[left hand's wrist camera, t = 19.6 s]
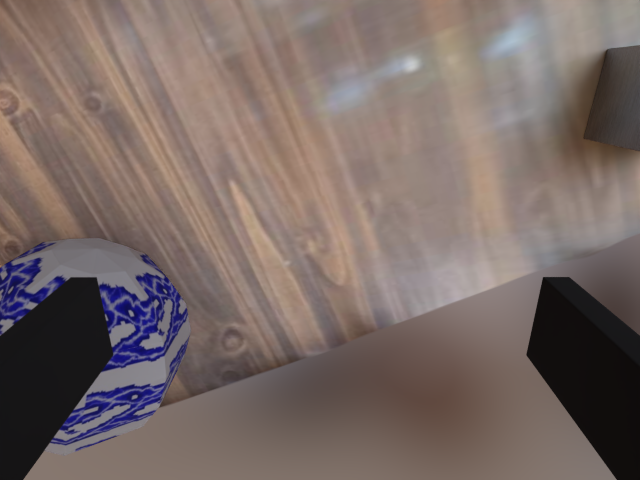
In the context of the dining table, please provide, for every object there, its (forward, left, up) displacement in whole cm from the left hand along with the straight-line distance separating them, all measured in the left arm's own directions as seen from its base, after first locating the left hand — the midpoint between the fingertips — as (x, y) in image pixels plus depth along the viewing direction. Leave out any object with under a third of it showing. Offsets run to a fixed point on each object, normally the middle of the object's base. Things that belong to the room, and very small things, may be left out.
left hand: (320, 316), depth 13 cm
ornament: (-26, -10, -33) cm, 43 cm away
